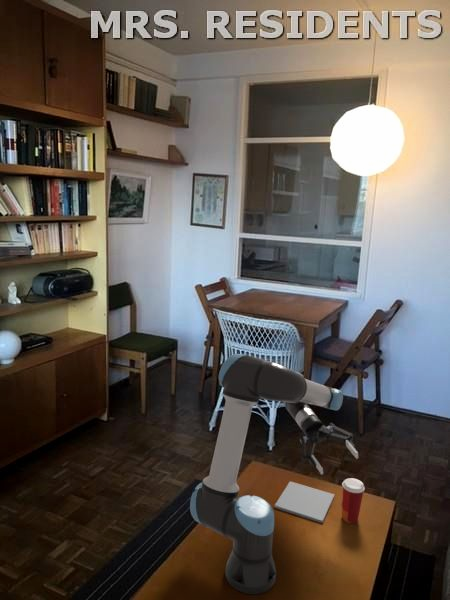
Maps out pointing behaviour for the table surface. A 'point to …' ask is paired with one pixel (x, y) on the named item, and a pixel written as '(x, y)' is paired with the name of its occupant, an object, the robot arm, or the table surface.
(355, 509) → the paper cup
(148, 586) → the table surface
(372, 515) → the table surface
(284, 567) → the table surface
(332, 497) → the slate board
